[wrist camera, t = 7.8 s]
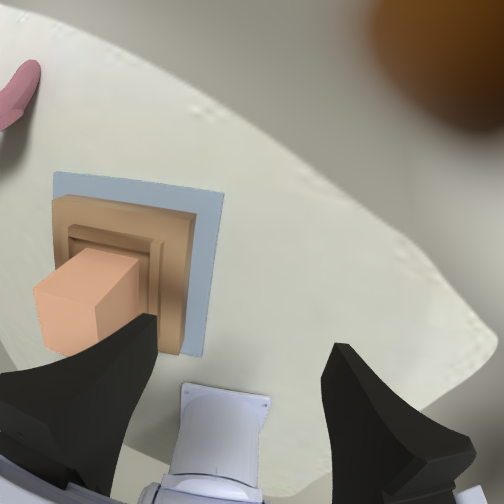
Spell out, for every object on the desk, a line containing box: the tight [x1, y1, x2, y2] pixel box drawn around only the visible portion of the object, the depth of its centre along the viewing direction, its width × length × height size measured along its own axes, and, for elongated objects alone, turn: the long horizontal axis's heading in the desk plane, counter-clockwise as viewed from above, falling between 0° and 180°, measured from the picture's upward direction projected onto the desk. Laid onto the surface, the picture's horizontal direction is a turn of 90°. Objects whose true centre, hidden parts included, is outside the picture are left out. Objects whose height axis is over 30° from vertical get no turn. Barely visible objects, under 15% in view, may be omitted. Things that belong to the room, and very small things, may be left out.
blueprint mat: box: [53, 172, 224, 357], centre depth 21 cm, size 13×13×1 cm
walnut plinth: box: [52, 194, 197, 355], centre depth 19 cm, size 10×10×3 cm
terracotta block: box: [33, 248, 139, 357], centre depth 16 cm, size 4×4×6 cm
